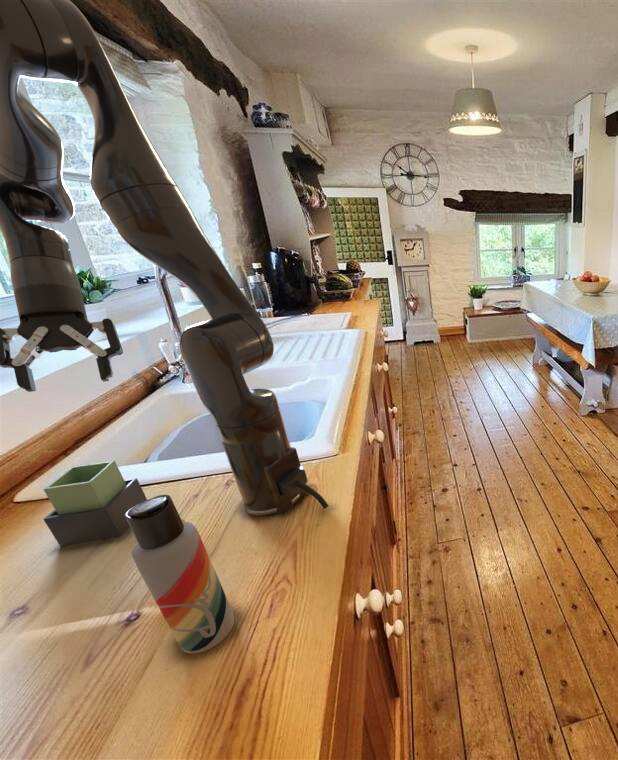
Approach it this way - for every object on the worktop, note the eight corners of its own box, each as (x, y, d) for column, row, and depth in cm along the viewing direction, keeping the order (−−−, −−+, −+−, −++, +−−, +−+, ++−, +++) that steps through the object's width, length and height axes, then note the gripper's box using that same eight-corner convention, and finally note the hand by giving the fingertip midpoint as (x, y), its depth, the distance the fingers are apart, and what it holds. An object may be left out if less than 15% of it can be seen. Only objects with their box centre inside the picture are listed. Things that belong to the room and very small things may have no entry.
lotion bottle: (193, 664, 47) (123, 530, 39) (172, 639, 50) (102, 510, 42) (244, 624, 51) (190, 496, 43) (221, 603, 54) (167, 480, 46)
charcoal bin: (96, 513, 72) (81, 486, 69) (150, 505, 73) (136, 477, 71) (61, 548, 64) (42, 519, 62) (122, 538, 66) (106, 509, 63)
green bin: (98, 514, 71) (72, 466, 67) (138, 508, 72) (114, 460, 68) (73, 540, 65) (42, 489, 61) (117, 532, 66) (89, 482, 62)
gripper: (-31, 284, 60) (-9, 389, 59) (102, 279, 69) (123, 372, 68) (-7, 302, 66) (13, 399, 65) (112, 296, 75) (131, 382, 74)
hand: (69, 385), depth 66 cm, fingers open, 8 cm apart
